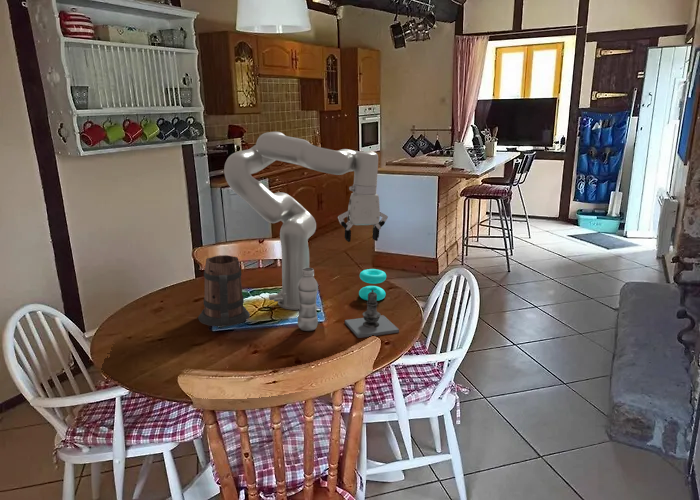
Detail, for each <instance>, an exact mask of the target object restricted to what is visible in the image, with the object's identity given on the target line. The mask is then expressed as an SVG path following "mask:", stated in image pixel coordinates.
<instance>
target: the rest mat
mask: <svg viewBox="0 0 700 500" xmlns="http://www.w3.org/2000/svg"><path fill="white" fill-rule="evenodd" d="M364 322H365V320H364V317H358V318H352V319H345V320H344V324H345V325H346V326H347V327H348V328H349V329H350V331H351V332H352V333H353V335H355V336H356V337H357V339H360V338H361V339H362V338H369V336H370V337H374V336H375V337H376V336H382V335H389V334H396V333H397V334H399V333H400V329H399V328H398V326H396V325H395V323H392V322H391V320H389V319H388V318H387V317H386V316H385V315H384V314H382V315H381V316H380V318H379V320H378V321H377V322H378V323H379V326H378V327H376V328H368V327H365V326H364V325H363V323H364ZM372 335H374V336H372Z"/></svg>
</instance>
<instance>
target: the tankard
mask: <svg viewBox="0 0 700 500" xmlns="http://www.w3.org/2000/svg"><path fill="white" fill-rule="evenodd" d="M203 279H204V297H203V305H204V306H203V307H204V308H203V309H202V310H201V312H200V314H199V315H198V321H199V323H201V324H202V325H207V326H208V327H209V326H210V327H211V326H212V327H231V326H236V325H238V324H242V323H244V322H246V321H247V320H249V318H250V316H251V314H250V311H248V310H247V307H245V305H244V301H245V300H244V295H243V288H242V287H243V286H242V269H241V266H240V263H239V258H238V256H233V255H227V254H224V255H220V254H219V255H215V256H211V257H208V258H206V259H205V267H204V270H203Z"/></svg>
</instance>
